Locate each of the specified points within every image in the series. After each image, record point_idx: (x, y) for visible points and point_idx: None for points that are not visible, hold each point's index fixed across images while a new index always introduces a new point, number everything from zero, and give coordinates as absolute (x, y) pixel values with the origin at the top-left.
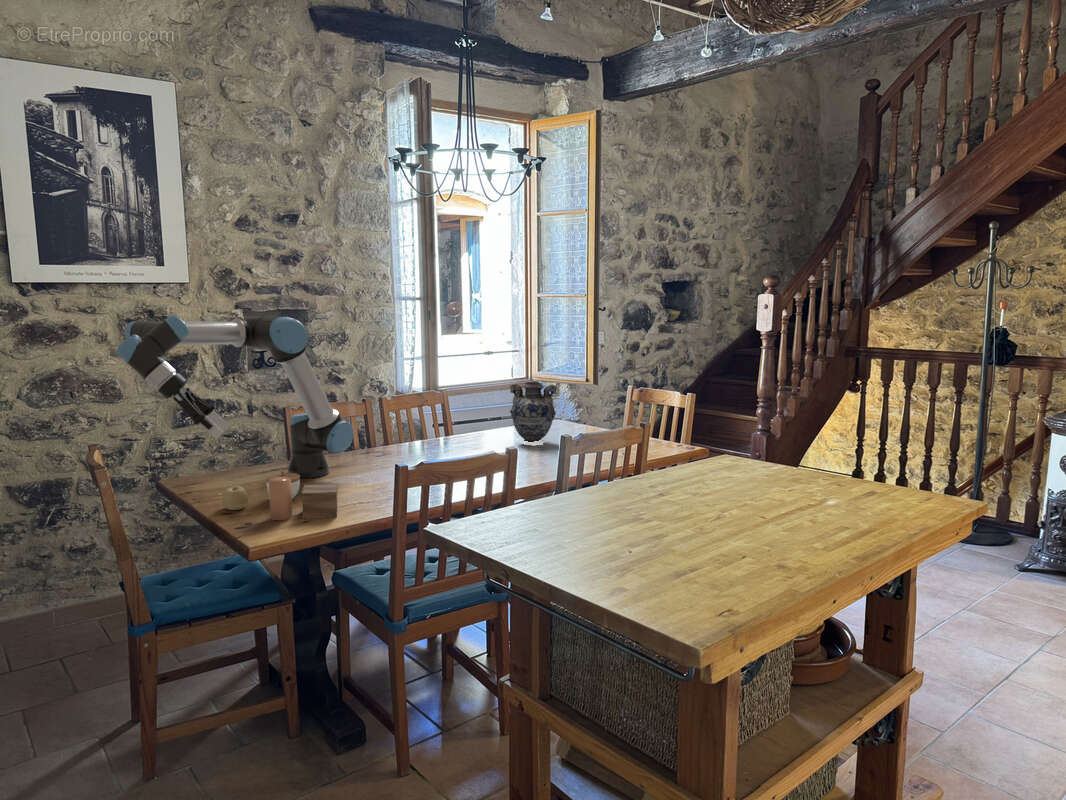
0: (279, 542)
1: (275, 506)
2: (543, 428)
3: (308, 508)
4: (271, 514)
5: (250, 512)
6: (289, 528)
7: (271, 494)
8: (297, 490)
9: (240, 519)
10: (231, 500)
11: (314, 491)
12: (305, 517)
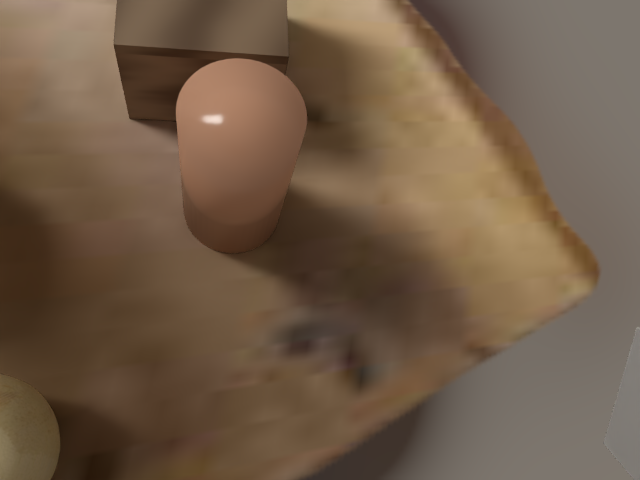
0: (547, 197)
1: (283, 200)
2: None
3: None
4: (262, 236)
5: (104, 357)
6: (390, 171)
7: (279, 191)
8: None
9: (221, 389)
10: (52, 459)
11: (259, 5)
12: None
